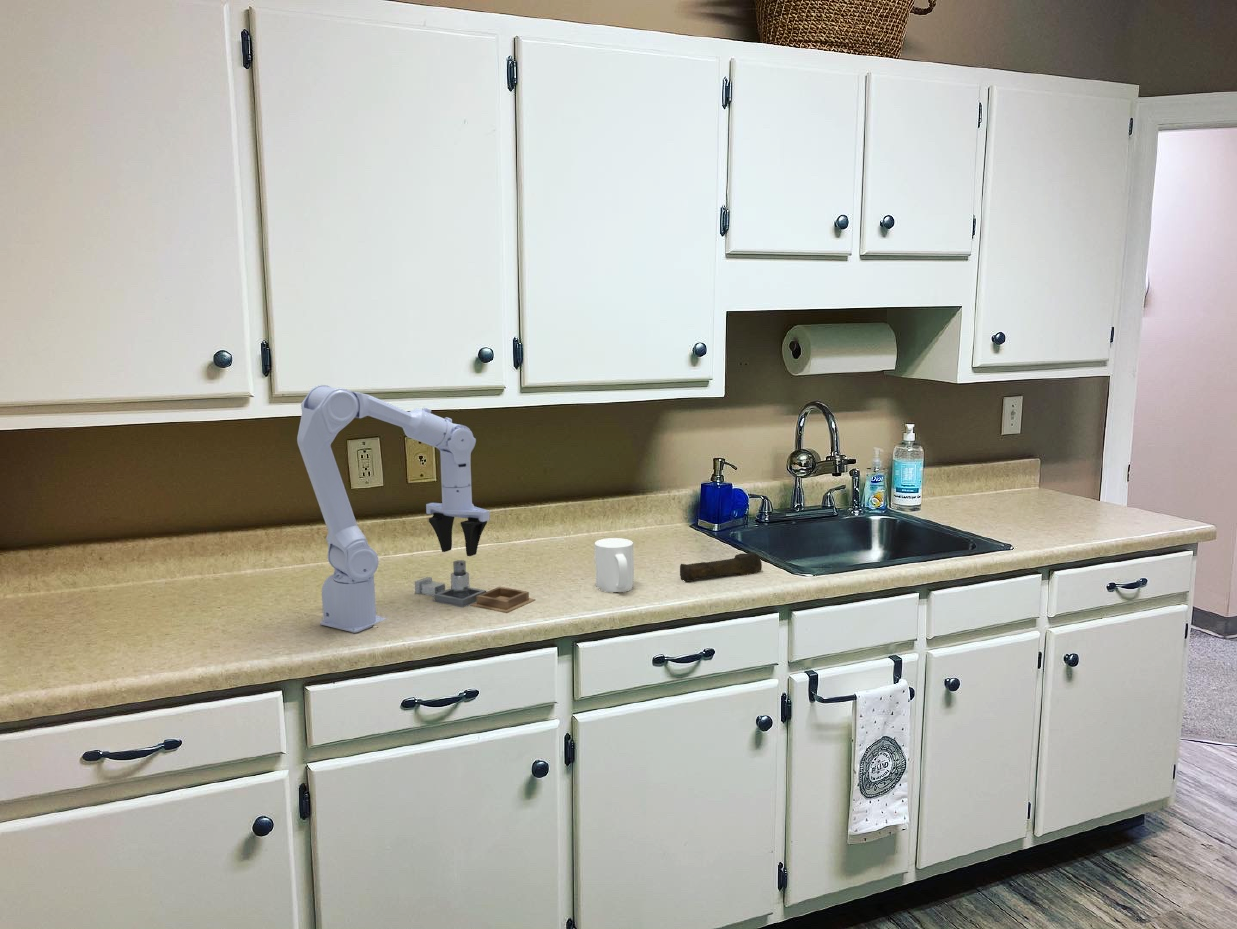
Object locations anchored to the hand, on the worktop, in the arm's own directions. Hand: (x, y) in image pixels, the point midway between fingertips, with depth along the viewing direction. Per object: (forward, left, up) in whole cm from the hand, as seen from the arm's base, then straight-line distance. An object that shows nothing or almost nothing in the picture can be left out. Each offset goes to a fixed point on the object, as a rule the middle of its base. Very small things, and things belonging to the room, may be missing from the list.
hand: (459, 553), depth 188 cm
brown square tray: (+9, +2, -10) cm, 14 cm away
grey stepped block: (-8, 0, -10) cm, 13 cm away
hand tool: (+37, +42, -10) cm, 57 cm away
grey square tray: (0, 0, -10) cm, 10 cm away
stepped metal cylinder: (0, 0, -9) cm, 9 cm away
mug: (+22, +23, -10) cm, 33 cm away
